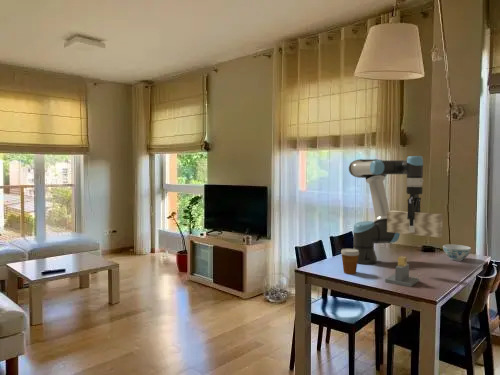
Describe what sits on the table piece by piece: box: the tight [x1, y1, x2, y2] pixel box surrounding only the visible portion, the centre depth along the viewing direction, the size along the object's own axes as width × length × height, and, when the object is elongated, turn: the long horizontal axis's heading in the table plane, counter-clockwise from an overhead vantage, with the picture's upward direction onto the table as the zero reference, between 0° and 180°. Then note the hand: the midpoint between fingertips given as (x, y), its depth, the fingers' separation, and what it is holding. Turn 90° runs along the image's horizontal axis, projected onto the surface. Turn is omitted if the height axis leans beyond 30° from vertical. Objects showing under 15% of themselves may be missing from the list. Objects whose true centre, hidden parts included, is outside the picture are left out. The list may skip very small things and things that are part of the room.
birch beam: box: [387, 209, 444, 238], centre depth 200 cm, size 26×5×11 cm, turn 50°
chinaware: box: [442, 243, 472, 262], centre depth 234 cm, size 15×15×8 cm
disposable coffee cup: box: [340, 248, 359, 275], centre depth 206 cm, size 10×10×12 cm
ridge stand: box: [384, 255, 420, 288], centre depth 189 cm, size 12×12×12 cm
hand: (413, 231), depth 201 cm, fingers closed on birch beam, 5 cm apart
